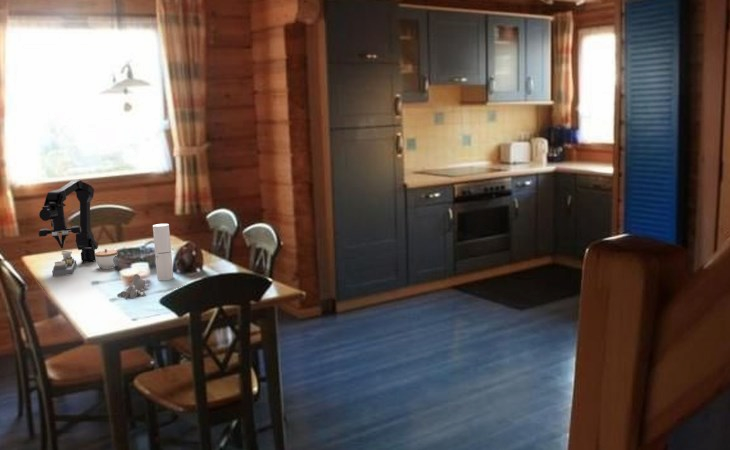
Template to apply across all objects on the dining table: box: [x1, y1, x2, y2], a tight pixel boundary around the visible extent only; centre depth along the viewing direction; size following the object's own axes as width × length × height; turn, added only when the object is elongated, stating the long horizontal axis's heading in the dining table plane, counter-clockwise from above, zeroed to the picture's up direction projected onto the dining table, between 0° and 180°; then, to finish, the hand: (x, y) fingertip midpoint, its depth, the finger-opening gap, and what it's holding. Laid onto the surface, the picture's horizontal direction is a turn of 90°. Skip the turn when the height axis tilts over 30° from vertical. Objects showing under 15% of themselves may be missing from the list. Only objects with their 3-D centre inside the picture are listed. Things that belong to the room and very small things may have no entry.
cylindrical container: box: [152, 223, 174, 281], centre depth 323 cm, size 7×7×25 cm
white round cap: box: [61, 249, 73, 261], centre depth 352 cm, size 5×5×6 cm
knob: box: [54, 260, 66, 267], centre depth 341 cm, size 5×5×6 cm
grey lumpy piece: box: [116, 273, 150, 300], centre depth 302 cm, size 20×10×9 cm
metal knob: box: [66, 256, 73, 266], centre depth 347 cm, size 3×3×4 cm
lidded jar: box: [95, 248, 119, 270], centre depth 351 cm, size 11×11×9 cm
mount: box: [51, 258, 77, 277], centre depth 348 cm, size 9×21×4 cm, turn 17°
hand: (62, 248), depth 345 cm, fingers closed
